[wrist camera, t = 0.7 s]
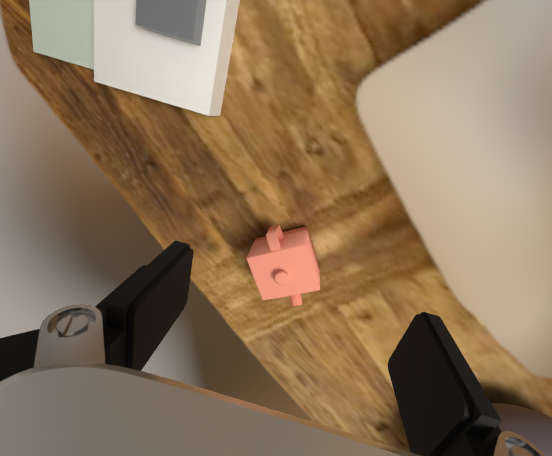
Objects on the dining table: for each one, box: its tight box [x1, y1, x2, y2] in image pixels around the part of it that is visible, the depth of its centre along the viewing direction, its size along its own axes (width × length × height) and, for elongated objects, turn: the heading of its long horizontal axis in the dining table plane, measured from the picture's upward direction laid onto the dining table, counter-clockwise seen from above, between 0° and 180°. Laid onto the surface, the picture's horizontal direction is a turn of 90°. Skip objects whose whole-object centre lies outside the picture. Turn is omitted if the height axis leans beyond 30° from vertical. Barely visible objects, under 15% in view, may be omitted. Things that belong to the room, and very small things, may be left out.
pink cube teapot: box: [246, 225, 320, 306], centre depth 37 cm, size 8×12×8 cm, turn 18°
